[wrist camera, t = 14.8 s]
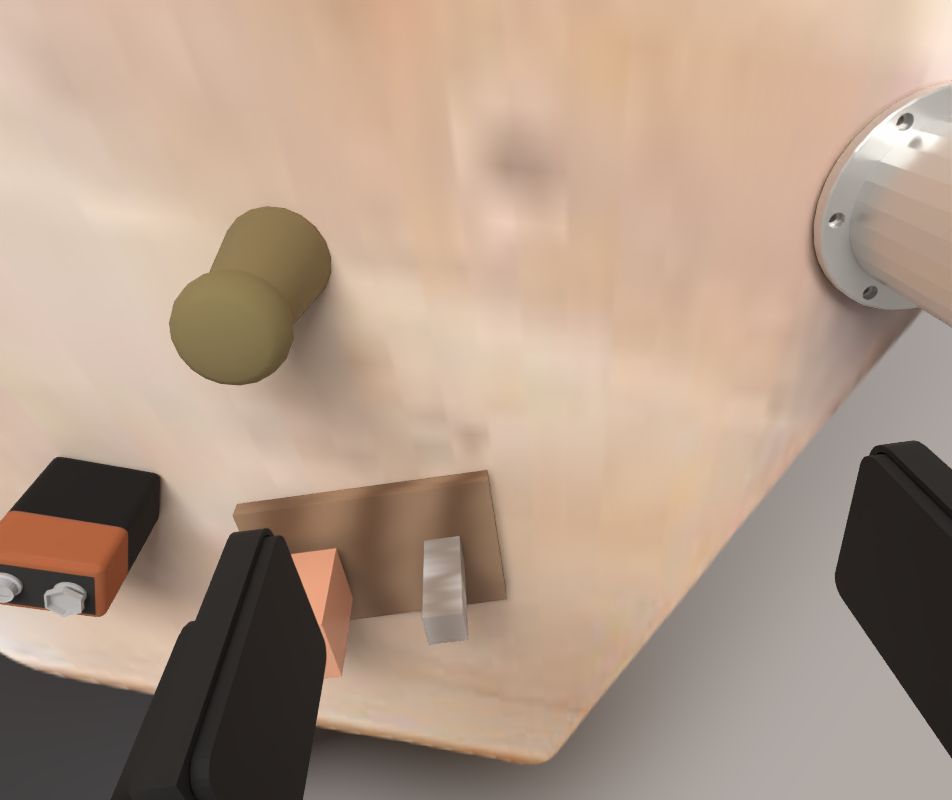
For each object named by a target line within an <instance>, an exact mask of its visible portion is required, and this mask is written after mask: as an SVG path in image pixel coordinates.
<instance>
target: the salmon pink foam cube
mask: <svg viewBox="0 0 952 800" xmlns="http://www.w3.org/2000/svg"><path fill="white" fill-rule="evenodd" d="M291 556H292V559H293V561H294V564H295V566H296V569H297V571H298V574H299V576H300V579H301V582H302V584H303V587H304V589H305V592H306V594H307V597H308V599H309V602H310V604H311V607H312V610H313V612H314V615H315V617H316V620H317V622H318V625H319V627H320V630H321V632H322V635H323V638H324V640H325V644H326V653H327V658H326V667H325V673H324V679H325V678H332V677H340V676H342V671H343V664H344V657H345V650H346V643H347V636H348V629H349V622H350V615H351V609H352V602H353V597H352V594H351V591H350V588H349V585H348V582H347V579H346V576H345V573H344V570H343V567H342V564H341V561H340V558H339V555H338V552H337V549H336V548H334V549H326V550H319V551H311V552H304V553H296V554H291Z"/></svg>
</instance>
